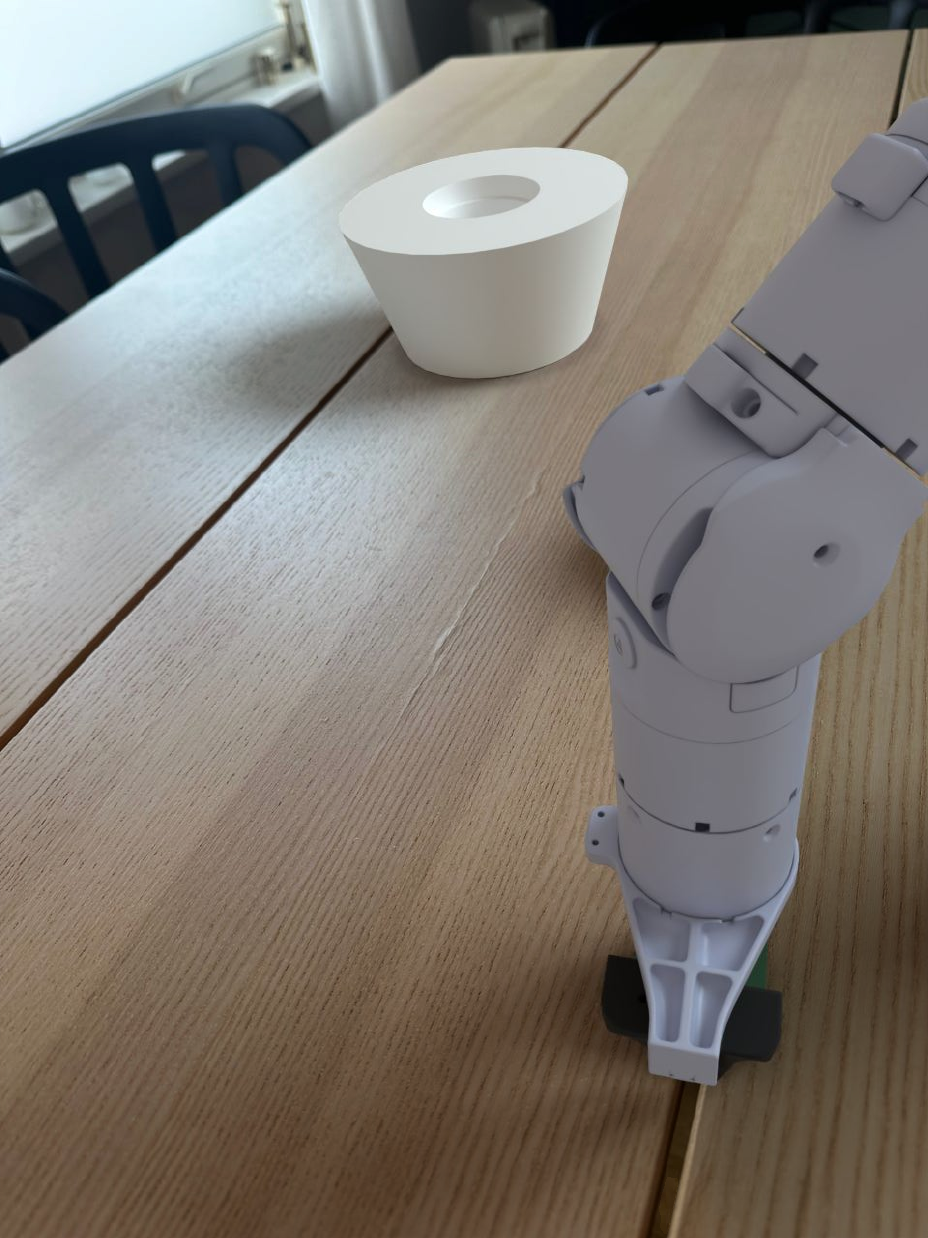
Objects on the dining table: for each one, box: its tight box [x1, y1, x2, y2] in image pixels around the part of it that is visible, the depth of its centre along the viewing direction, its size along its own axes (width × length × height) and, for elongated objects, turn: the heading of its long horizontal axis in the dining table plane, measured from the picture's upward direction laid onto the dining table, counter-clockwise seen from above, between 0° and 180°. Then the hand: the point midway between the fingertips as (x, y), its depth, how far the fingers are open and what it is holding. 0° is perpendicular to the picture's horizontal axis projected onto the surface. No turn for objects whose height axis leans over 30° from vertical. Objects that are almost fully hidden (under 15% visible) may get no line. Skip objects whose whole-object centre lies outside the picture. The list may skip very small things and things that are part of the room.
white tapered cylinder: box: [337, 146, 629, 379], centre depth 85 cm, size 24×24×12 cm
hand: (698, 979), depth 39 cm, fingers open, 7 cm apart
